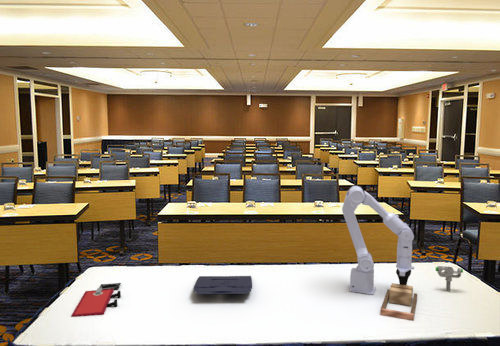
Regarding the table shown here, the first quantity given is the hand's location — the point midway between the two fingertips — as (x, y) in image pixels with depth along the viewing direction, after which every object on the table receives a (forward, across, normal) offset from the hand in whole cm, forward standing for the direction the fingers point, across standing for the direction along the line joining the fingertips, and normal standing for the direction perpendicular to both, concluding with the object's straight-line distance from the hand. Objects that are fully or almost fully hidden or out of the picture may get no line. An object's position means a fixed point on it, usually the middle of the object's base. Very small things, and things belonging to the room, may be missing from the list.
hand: (403, 287), depth 174 cm
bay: (+2, -14, 0) cm, 14 cm away
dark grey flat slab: (+3, -27, +70) cm, 75 cm away
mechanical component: (+3, +10, -17) cm, 20 cm away
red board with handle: (+3, -56, +110) cm, 124 cm away
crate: (+2, -9, 0) cm, 9 cm away
